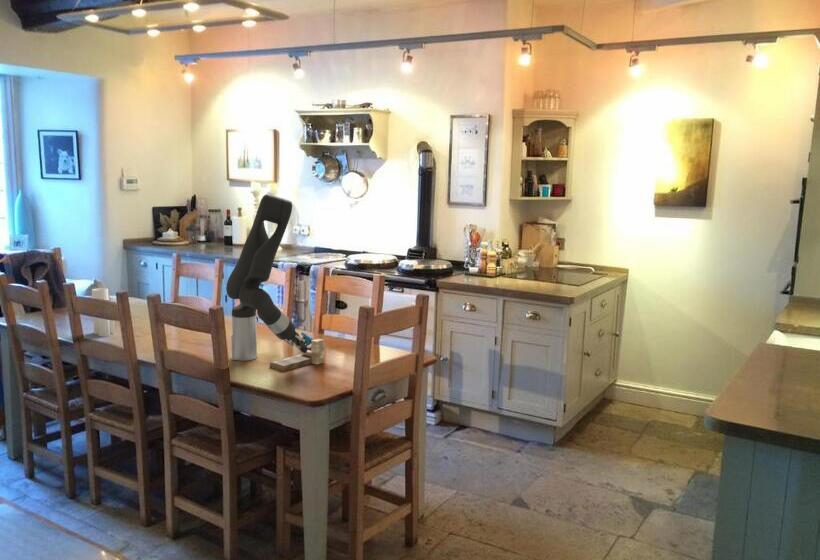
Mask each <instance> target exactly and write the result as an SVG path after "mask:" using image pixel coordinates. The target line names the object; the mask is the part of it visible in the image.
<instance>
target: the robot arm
mask: <svg viewBox="0 0 820 560" xmlns="http://www.w3.org/2000/svg"><path fill="white" fill-rule="evenodd" d="M292 211H293V203H292V201H291V200H289V199H286V198H283V197H280V196H277V195H273V194H269V193H265V194H264V195H263V196H262V198H261V200H260V201H259V204H258V207H257V210H256V214H255V217H254V220H253V224H252V226H251V228H250V230H249V233H248V235H247V238H246V240H245V242H244V244H243V246H242V249H241V252H240V255H239V258H238V260H237V262H236V264H235V266H234V268H233V270H232V271H231V273H230V275H229V277H228V279H227V282H226V287H225V288H226V289H225V290H226V294H227V296H228V298H230V299H232V300H239V302H240V303H239V304H238V305H236V306H235V307H233V308H232V309H231V328H232V329H231V333H232V334H231V339H230V341H231V360H232V361H241V362H242V361H244V362H245V361H252V360H255V359H257V358H258V357H257V356H258V351H257V349H258V348H257V344H258V343H257V338H258V337H257V316H258V318H259V319H260V320H261V321H262V322H263V323H264V324H265V325H266V327H267V328H268V329H269V331H271V332H272V333H273V334H274V335H275V336H276V337H277V339H279V340H281V341H282V340H283V341H284V342H286V343H287V344H289V345H291V346H292V347H295V348H297V349H298V350H299V351H300V353H301V352H303V353H306V352H307V350H309V349H308V346H307V347H306V346H305V345H306V337H303V336H302V337H301V336H300V334H299V333H298V332H297V331H296V324H294V322H293V321H292V320H291V319H290V318H289V317H288V316H287V315H286V314H285V313H284V312H283V311H281V310H280V308H278V306H276V304H275V303H274V301H273V299H272V297H271V296H270V294H269V293H268V292H267V291H266V290H265V289H264V288H261V287H260V286H261V285H262V283H265V282H267V281H269V279H270V276H271V272H272V269H273V266H274V262H275V259H276V255H277V252H278V251H279V247H280V245H281V244H282V243H281V242H282V240H283V238H284V235H285V232H286V229H287V227H288V224H289V221H290V218H291V216H292ZM266 221H267V222H269V223H273V224H275V225H277V226H276V228H275V231H273V234H271V236H270V237H269V235H268V233H267V230H266V226H265V222H266Z"/></svg>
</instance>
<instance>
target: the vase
mask: <svg viewBox="0 0 820 560" xmlns="http://www.w3.org/2000/svg"><path fill="white" fill-rule="evenodd" d="M92 297H95V298H100V299H104V300H111V301H113V302H114V300H113V299H111V298H109V288H105V287H99V288H98V287H97V288H92V289H91V298H92ZM92 317H93V316H92ZM92 320H93V333H94V335H98V336H99V337H103V338H104V337H105V338H106V337H109V336H111V335H114V334H115V320H114V321H110V320H105V319H100V318H94V317H93V318H92Z"/></svg>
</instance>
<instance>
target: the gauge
mask: <svg viewBox="0 0 820 560" xmlns="http://www.w3.org/2000/svg"><path fill="white" fill-rule="evenodd" d="M310 345H311V347H310V348H311V350H310V349H308V350H307V352H306V353H303V352H301V351H300V354H303V355H307V356H311V364H314V365H320V364H324V363H325V339H323V338H316V339H313V340H311V344H310Z"/></svg>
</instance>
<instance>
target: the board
mask: <svg viewBox="0 0 820 560" xmlns="http://www.w3.org/2000/svg"><path fill="white" fill-rule="evenodd" d="M311 364H312V363H311V356H307V355H303V354H301V353H299V354H294V355H292V356H286V357H284V358H281V359H275V360H273V361H270V362H269V368H271V367H273V369H275V368H276V370H278V369H279V371H282V370H283V371H282V372H286V371H289V370H294V369H296V368H300V367H303V366H307V365H311Z"/></svg>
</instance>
